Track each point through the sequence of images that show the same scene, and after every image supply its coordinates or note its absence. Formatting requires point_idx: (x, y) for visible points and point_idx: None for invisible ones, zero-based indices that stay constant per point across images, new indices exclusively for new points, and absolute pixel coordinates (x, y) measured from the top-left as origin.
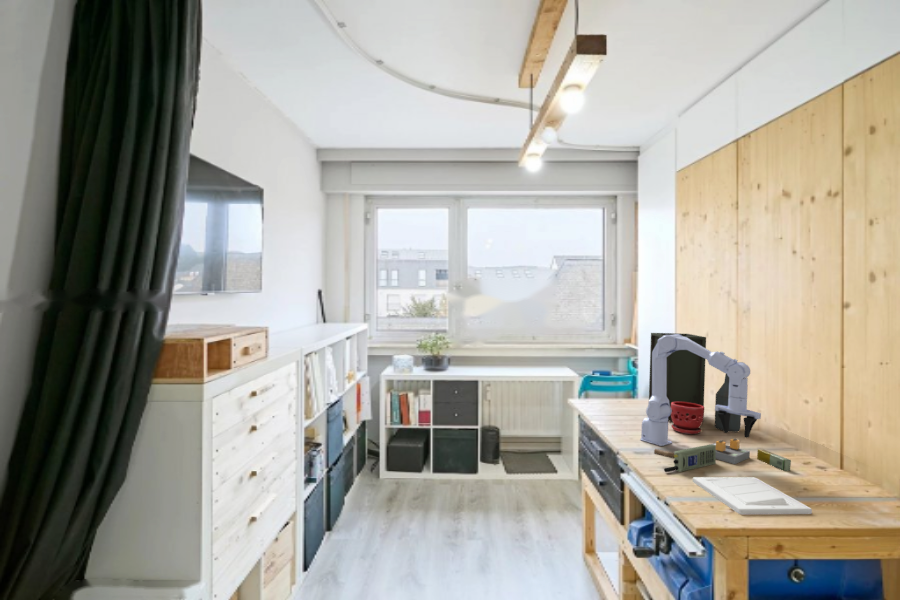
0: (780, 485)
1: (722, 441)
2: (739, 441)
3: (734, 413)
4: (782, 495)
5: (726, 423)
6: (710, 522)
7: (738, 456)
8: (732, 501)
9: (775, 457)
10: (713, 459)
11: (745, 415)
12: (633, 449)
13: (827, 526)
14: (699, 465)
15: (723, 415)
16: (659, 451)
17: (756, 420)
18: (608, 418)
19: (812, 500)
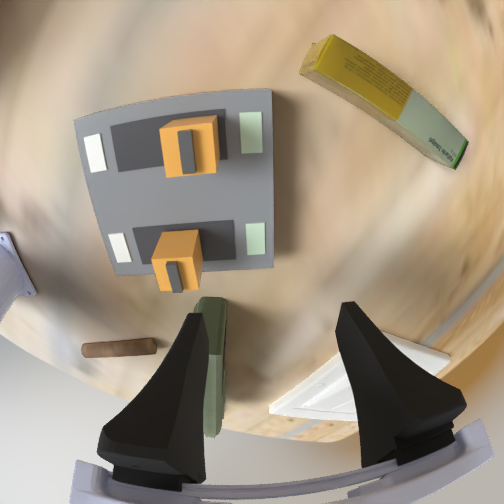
0: (421, 298)
1: (177, 267)
2: (212, 125)
3: (269, 490)
4: (420, 362)
5: (197, 393)
6: (341, 435)
7: (273, 231)
8: (354, 419)
9: (418, 140)
10: (225, 324)
11: (374, 473)
12: (62, 358)
13: (454, 366)
14: (224, 364)
15: (202, 475)
16: (99, 357)
17: (454, 390)
18: None
19: (463, 313)
